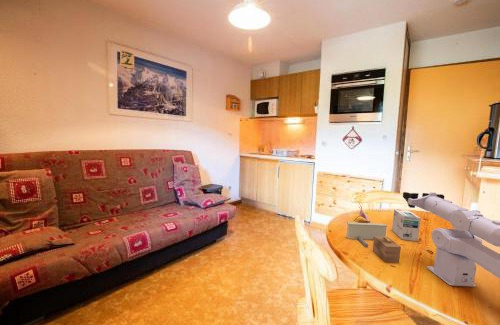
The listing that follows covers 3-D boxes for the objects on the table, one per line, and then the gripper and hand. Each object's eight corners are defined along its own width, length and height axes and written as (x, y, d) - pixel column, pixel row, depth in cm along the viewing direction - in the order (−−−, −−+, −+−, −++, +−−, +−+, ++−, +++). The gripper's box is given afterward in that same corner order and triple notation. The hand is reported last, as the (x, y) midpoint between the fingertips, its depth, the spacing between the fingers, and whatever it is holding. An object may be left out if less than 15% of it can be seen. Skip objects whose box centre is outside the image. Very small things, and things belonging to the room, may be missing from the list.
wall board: (396, 248, 90) (398, 232, 89) (355, 246, 90) (356, 230, 89) (383, 238, 99) (384, 223, 98) (345, 236, 99) (347, 222, 98)
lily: (362, 230, 109) (374, 214, 107) (342, 214, 117) (354, 199, 115) (369, 231, 118) (381, 217, 116) (350, 216, 126) (361, 202, 124)
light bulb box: (418, 241, 97) (421, 217, 96) (400, 239, 98) (404, 215, 97) (406, 231, 107) (409, 209, 106) (390, 229, 109) (393, 208, 107)
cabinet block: (398, 263, 79) (401, 244, 79) (384, 262, 79) (386, 243, 79) (385, 251, 87) (387, 234, 87) (372, 250, 87) (374, 233, 87)
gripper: (466, 198, 75) (433, 186, 89) (423, 196, 75) (397, 184, 88) (461, 217, 77) (430, 203, 90) (418, 215, 76) (394, 201, 90)
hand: (413, 194), depth 89 cm, fingers open, 7 cm apart
